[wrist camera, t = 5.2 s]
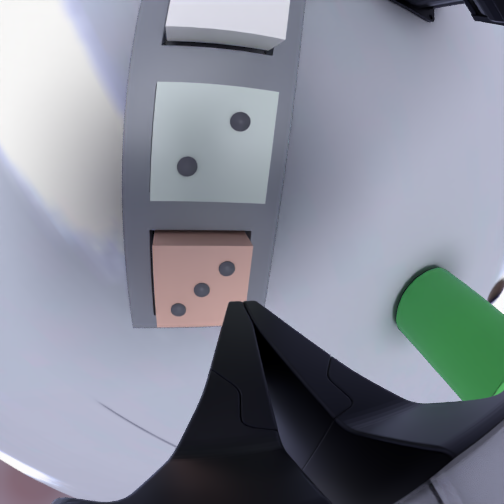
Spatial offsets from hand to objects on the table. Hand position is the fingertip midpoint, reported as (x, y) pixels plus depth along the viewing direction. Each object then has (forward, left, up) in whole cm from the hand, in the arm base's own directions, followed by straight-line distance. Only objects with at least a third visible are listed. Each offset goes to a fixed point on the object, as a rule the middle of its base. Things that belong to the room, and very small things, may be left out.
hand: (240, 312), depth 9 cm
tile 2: (0, -4, -11) cm, 11 cm away
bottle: (-25, +10, -13) cm, 29 cm away
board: (0, -4, -13) cm, 13 cm away
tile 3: (0, +5, -12) cm, 13 cm away
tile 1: (0, -13, -11) cm, 17 cm away
